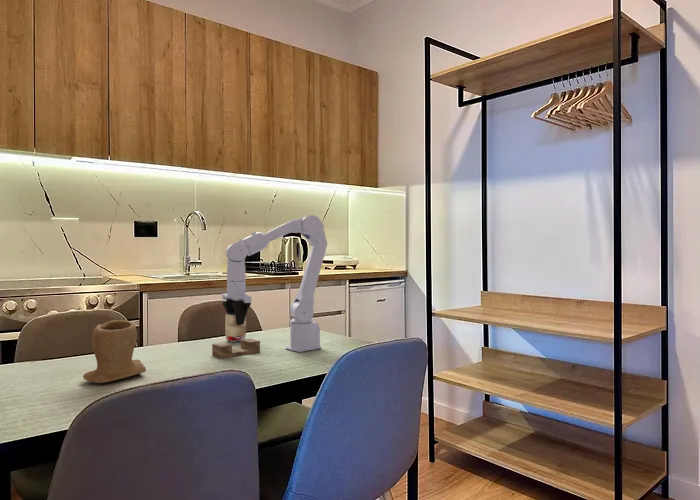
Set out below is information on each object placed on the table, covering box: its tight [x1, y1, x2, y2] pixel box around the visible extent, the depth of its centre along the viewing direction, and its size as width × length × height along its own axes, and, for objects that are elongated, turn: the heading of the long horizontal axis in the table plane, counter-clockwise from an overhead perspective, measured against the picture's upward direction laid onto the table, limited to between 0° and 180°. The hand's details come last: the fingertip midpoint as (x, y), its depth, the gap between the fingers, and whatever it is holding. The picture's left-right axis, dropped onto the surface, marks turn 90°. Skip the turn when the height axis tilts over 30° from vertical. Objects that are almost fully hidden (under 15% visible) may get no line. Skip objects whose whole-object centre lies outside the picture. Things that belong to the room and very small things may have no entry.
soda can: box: [225, 312, 247, 343], centre depth 182 cm, size 7×7×12 cm
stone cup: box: [82, 319, 147, 384], centre depth 130 cm, size 15×12×15 cm
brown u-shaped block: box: [211, 338, 261, 359], centre depth 161 cm, size 14×6×4 cm, turn 133°
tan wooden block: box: [224, 312, 247, 337], centre depth 160 cm, size 5×4×7 cm
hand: (236, 323), depth 161 cm, fingers closed on tan wooden block, 4 cm apart
